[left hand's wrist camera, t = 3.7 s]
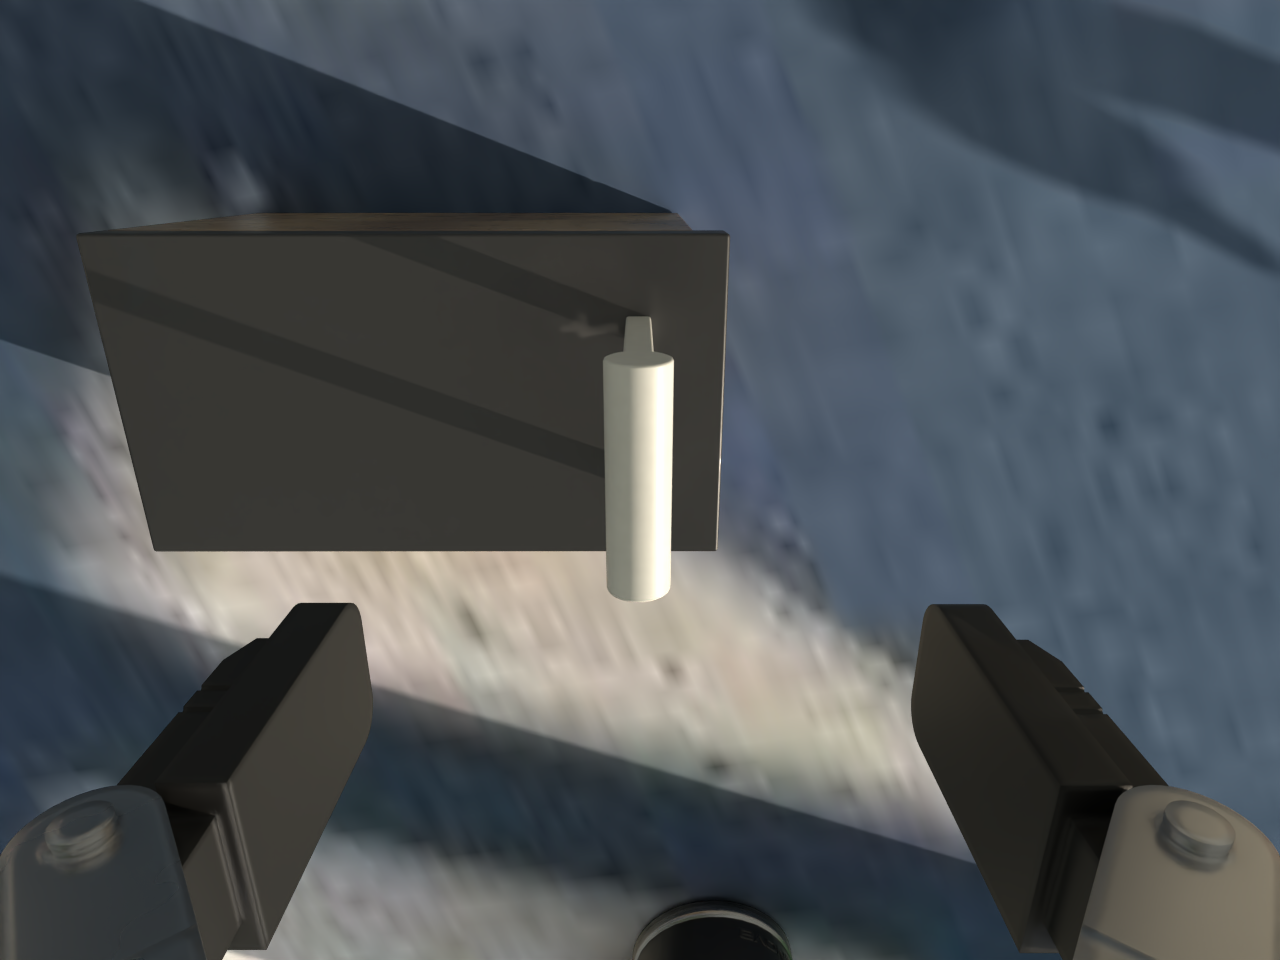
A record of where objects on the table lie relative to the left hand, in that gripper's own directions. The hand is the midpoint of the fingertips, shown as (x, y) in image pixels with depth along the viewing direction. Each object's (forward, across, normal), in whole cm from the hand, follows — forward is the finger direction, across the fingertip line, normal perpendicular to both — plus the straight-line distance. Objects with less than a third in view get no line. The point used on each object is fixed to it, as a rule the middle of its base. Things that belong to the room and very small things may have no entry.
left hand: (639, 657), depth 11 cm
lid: (+14, +6, 0) cm, 16 cm away
